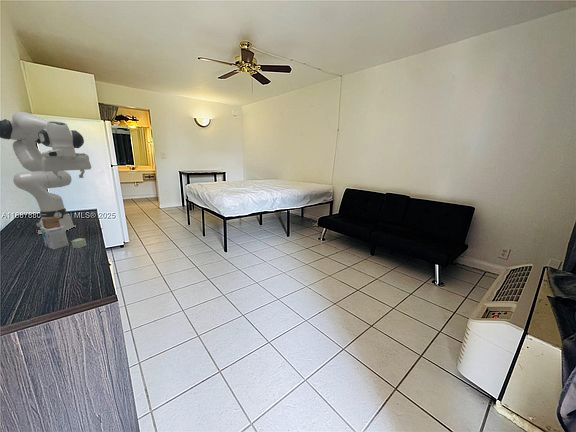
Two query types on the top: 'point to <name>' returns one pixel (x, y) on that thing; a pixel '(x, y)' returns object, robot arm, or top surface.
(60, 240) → the light bulb box
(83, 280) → the top surface
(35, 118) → the robot arm
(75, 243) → the sage block
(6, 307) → the top surface
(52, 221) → the walnut cube
